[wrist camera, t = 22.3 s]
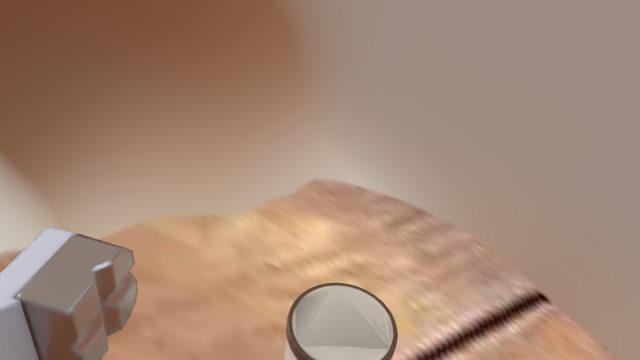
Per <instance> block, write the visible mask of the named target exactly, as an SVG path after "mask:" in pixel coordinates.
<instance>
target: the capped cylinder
mask: <svg viewBox="0 0 640 360" xmlns="http://www.w3.org/2000/svg"><path fill="white" fill-rule="evenodd" d="M286 334H287V343H286V350H285V357H284V360H391V358H392V356H393V353H394V350H395V348H396V344H397V336H398V333H397V327H396V323H395V320H394V318H393V315H392V314H391V312H390V310H389V309H388V308H387V306H386V305H385V304H384V303H383V302H382V301H381V300H380V299H379V298H377V297H376V296H375V295H373V294H372V293H370V292H368V291H366V290H365V289H362V288H360V287H357V286H354V285H349V284H344V283H327V284H322V285H318V286H315V287H313V288H311V289H308V290H307V291H305V292H304V293H302V294H301V295H300V296H299V297H298V298H297V299H296V300H295V302H294V303H293V305H292V306H291V309H290V311H289V314H288V319H287V328H286Z"/></svg>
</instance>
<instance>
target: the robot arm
mask: <svg viewBox="0 0 640 360" xmlns="http://www.w3.org/2000/svg"><path fill="white" fill-rule="evenodd" d="M134 264H135V262H134V256H133V251H132V250H130V249H127V248H124V247H120V246H117V245H114V244H111V243H107V242H104V241H101V240H97V239H94V238H91V237H87V236H84V235H81V234H77V233H74V232H70V231H67V230H63V229H60V228H56V227H52V228H50V229H47V230H45V231H43V232H42V233H41V234H40V235H39V236H38V237H37V238H36V239H35V240H34V241H33V242H32V243H31V244H30V245H29V246H28V247H27V248H26V249H25V250H24V251H23V252H22V253H21V254H20V255H18V256H17V257H16V258H15V259H14V260H13V261H12V262H11V263H10V264H9V265H8V266H7V267H6V268H5V269H4V270H3V271H2V272H1V273H0V360H101V359H102V357H103V356H104V354H105V353H106V351H107V350H108V340H107V336H109V335H111V334H113V333H115V332H117V331H119V330H121V329H122V328H123V326H124V325H125V323H126V322H127V320H128V318H129V317H130V315H131V312H132V310H133V307H134V305H135V302H136V297H137V290H138V289H137V280H136V279H135V278H134V276H133V275H132V274H131V273H130V272H129V271H130V269H131V268H132V267H133V265H134Z"/></svg>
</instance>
